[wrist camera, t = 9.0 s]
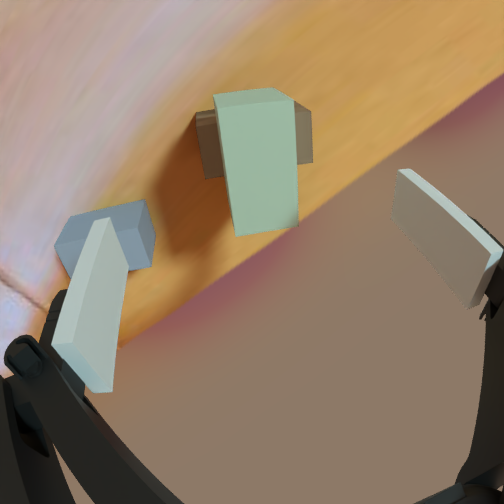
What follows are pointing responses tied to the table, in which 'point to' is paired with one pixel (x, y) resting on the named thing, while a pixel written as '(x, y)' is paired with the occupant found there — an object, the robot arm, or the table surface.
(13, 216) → the table surface
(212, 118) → the walnut block
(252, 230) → the sage block
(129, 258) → the slate block
